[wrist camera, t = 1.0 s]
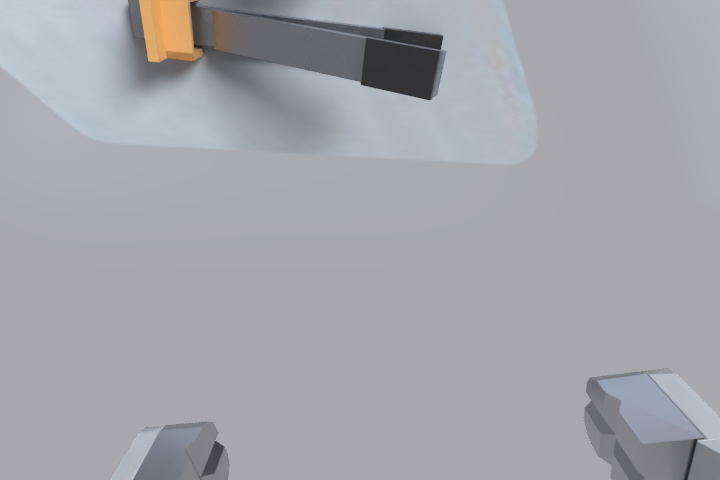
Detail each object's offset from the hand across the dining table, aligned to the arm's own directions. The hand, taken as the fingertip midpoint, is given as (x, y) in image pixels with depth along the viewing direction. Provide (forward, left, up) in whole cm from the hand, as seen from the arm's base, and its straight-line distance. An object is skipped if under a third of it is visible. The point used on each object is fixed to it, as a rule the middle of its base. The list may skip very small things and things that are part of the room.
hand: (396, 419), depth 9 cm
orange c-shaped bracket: (-3, -14, -37) cm, 40 cm away
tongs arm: (-3, -2, -30) cm, 30 cm away
